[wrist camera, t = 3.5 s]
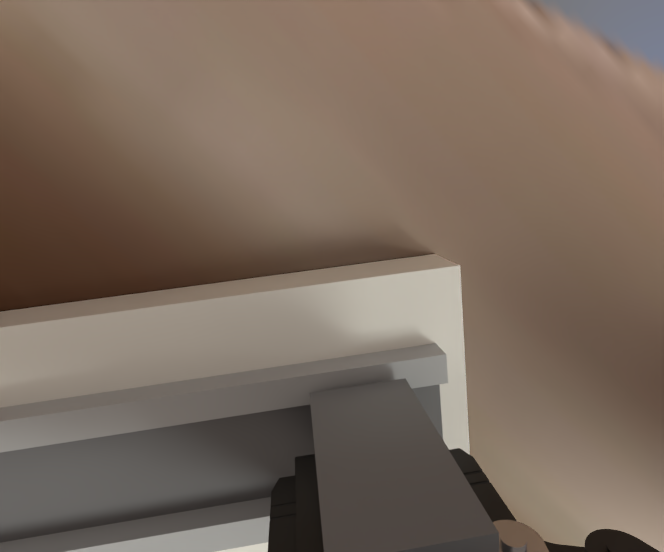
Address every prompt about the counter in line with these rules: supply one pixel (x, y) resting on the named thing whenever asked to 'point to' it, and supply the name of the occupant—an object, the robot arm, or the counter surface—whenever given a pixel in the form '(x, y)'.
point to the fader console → (205, 399)
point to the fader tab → (391, 476)
